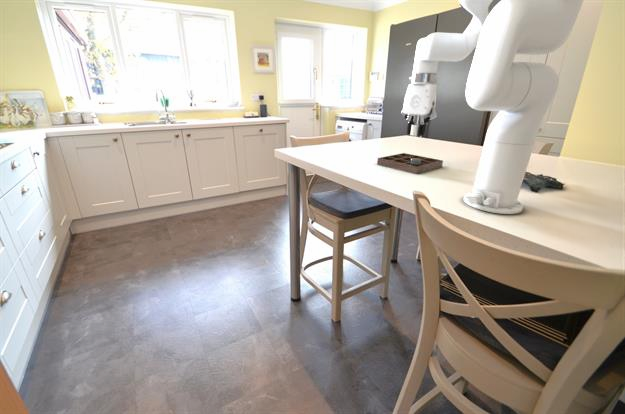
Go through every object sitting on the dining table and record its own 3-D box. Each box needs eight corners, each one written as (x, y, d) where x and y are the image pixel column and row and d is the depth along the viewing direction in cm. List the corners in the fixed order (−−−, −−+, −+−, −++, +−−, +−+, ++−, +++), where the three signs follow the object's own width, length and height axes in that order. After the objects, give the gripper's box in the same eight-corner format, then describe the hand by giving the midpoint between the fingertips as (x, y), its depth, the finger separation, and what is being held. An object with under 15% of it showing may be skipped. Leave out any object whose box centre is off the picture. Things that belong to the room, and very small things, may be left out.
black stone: (416, 170, 97) (417, 160, 96) (407, 168, 100) (408, 158, 99) (421, 169, 100) (423, 159, 98) (412, 167, 102) (414, 157, 101)
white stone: (416, 136, 101) (418, 125, 99) (407, 134, 103) (409, 124, 102) (422, 135, 103) (423, 125, 101) (413, 134, 105) (415, 124, 104)
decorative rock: (519, 162, 97) (575, 168, 86) (514, 179, 99) (570, 187, 88) (494, 165, 87) (556, 172, 75) (490, 185, 88) (550, 195, 77)
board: (416, 174, 96) (417, 166, 95) (376, 164, 108) (377, 158, 108) (441, 167, 106) (443, 160, 105) (403, 158, 118) (403, 152, 117)
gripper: (396, 79, 100) (389, 133, 107) (441, 79, 88) (430, 139, 95) (408, 80, 104) (401, 131, 111) (452, 79, 92) (442, 137, 99)
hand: (415, 134), depth 103 cm, fingers closed on white stone, 3 cm apart
